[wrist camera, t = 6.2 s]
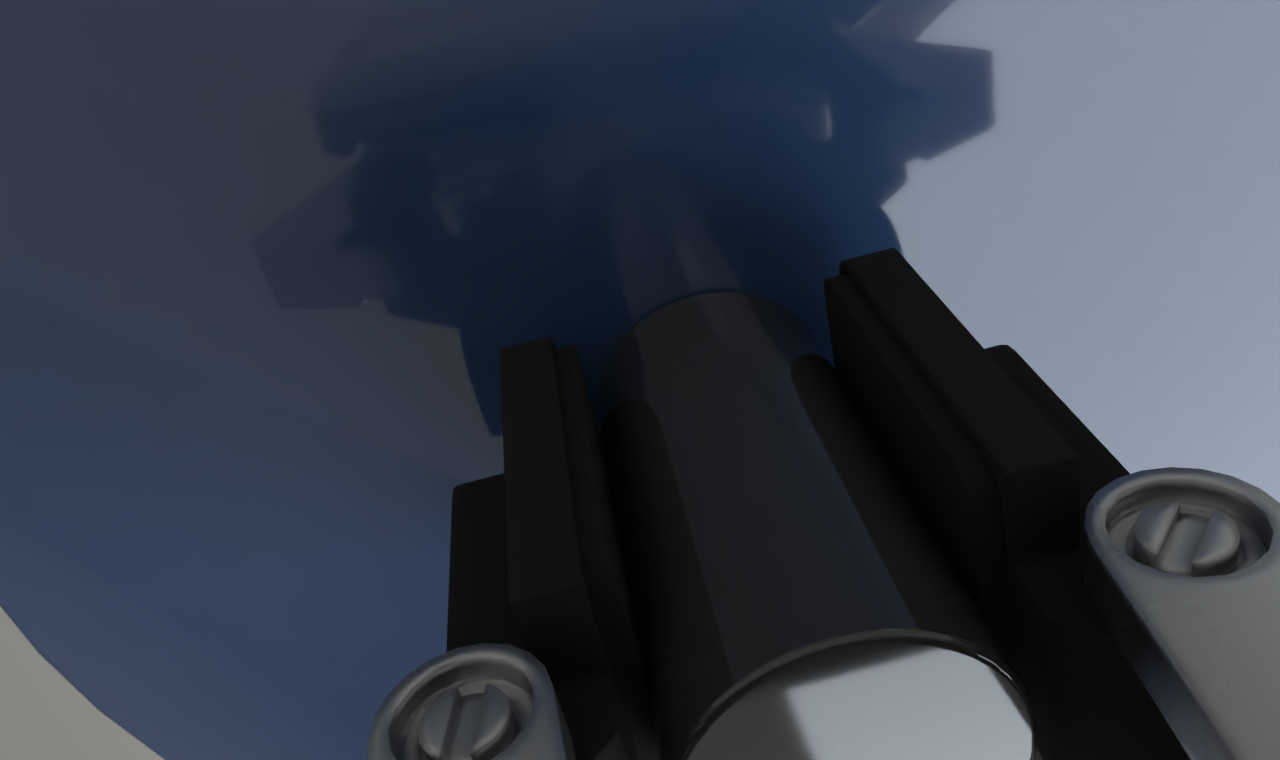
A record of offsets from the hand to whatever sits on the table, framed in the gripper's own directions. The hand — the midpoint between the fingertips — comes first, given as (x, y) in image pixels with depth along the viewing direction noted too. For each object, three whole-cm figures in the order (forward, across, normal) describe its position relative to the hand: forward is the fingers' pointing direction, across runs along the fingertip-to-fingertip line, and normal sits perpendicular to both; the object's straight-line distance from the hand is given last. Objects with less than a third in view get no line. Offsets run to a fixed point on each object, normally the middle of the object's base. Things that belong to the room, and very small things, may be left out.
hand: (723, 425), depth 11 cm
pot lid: (+1, 0, 0) cm, 1 cm away
